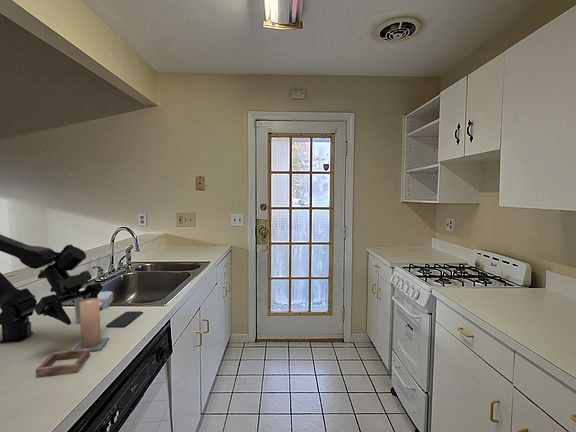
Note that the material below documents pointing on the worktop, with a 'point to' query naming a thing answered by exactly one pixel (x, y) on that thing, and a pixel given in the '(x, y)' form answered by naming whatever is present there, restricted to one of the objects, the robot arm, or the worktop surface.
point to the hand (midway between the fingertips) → (84, 318)
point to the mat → (96, 348)
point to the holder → (49, 370)
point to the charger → (105, 299)
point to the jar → (90, 322)
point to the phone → (124, 319)
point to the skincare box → (78, 307)
